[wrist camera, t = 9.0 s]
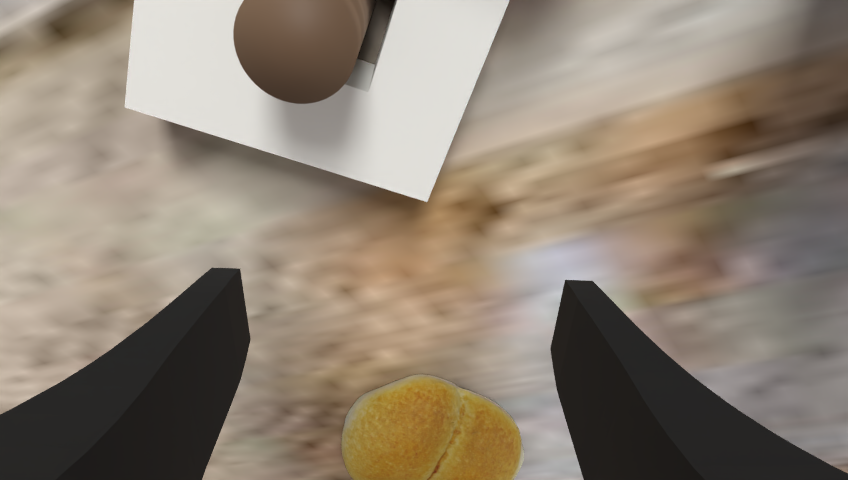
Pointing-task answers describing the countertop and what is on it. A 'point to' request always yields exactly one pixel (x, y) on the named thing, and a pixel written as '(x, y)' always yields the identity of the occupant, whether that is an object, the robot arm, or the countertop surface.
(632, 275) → the countertop surface
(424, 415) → the bread roll
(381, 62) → the socket block
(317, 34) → the peg
